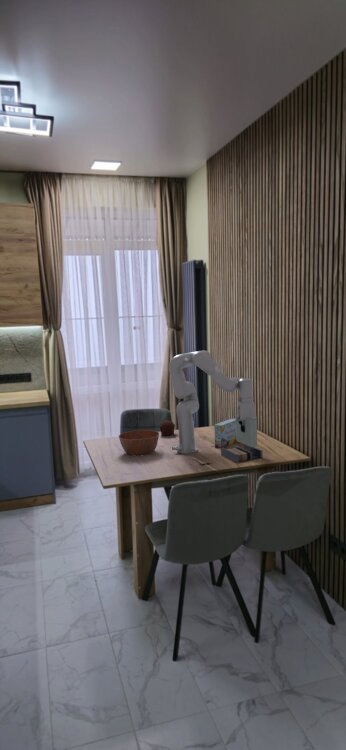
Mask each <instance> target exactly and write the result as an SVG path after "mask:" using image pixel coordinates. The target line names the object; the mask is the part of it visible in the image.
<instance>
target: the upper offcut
mask: <svg viewBox="0 0 346 750" xmlns="http://www.w3.org/2000/svg"><path fill="white" fill-rule="evenodd" d="M226 449H227V450H229V451H232V452H234V453H236V454H238V455H239V458H243V457H247V453H245V452H243V451H240V450H238V449H236V448H234V447H233V448H226Z"/></svg>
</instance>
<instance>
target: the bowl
mask: <svg viewBox="0 0 346 750" xmlns="http://www.w3.org/2000/svg"><path fill="white" fill-rule="evenodd" d="M159 437H160V433H159V432H158V431H156V430H152V429H151V430H150V429H136V430H130V431H126V432H122V433H120V434H118V439H119V442H120V444H121V447H122V449H123V451H124V452H125V454H127V455H128V454H129V456H132V455H136V456H135V457H142V456H141V455H144V456H147V455H151V454H152V453H154V452H155V450H156V448H157V447H158V443H159Z"/></svg>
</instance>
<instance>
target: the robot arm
mask: <svg viewBox="0 0 346 750" xmlns="http://www.w3.org/2000/svg"><path fill="white" fill-rule="evenodd" d="M195 366H196V367H198V368H199V369H200V370H202V371H203V372H205V374H207V375H208V376H209V377H210V379H211V380H212V381H213V383H215V385H216V386H218V387H219V388H220V389H222V390H223V391H225V392H226V393H233V392H235V391H239V394H238V395H239V398H237V402H238V404H237V409H236V411H237V412H236V414H237V415H236V416H237V418H235V419H236V420H235V421H237V422H238V423H239V424H240V425H241V432H245V426H244V421H246V419H255V420H257V419H258V417H257V412H256V405H255V401H253V400H254V398H253V396H254V395H253V379H252V378H241V377H239V376H237V377H236V376H235V377H234V376H233V377H230V378H229V377H227V375H225V374H224V373H223V372H222V371H221V370H220V364H219V363H218V362H216V361H215V360H214V359H212V355H211V352H209V351H208V350H204V349H203V350H198V351H192V352H185V353H180V354H177V355H175V356H173V357H172V358H171V360H170V361H169V363H168V372H169V375H170V378H171V384H172V387H173V391H174V392H173V393H174V395H175V397H176V398H177V399H179V400H181V399H183V400H182V401H180V402H179V403H178V404H177V405H176V408H175V409H176V410H175V411H176V417H177V423H178V427H177V428H178V444H177V445H176V446H172V447H171V448H172V451H174V450H175V451H176V452H177V453H179V454H182V455H183V454H186V455H191V454H194V453H197V452H198V448H197V447H196V443H195V442H196V440H195V422H194V416H193V414H195V413H197V412H198V411H199V409H200V403H199V397H198V393H197V390H196V389H197V388H196V387H195V384H194V383H193V382H191V381H187V380H186V375H185V372H184V371H183V369H185V368H189V367H195ZM239 419H240V421H239Z"/></svg>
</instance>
